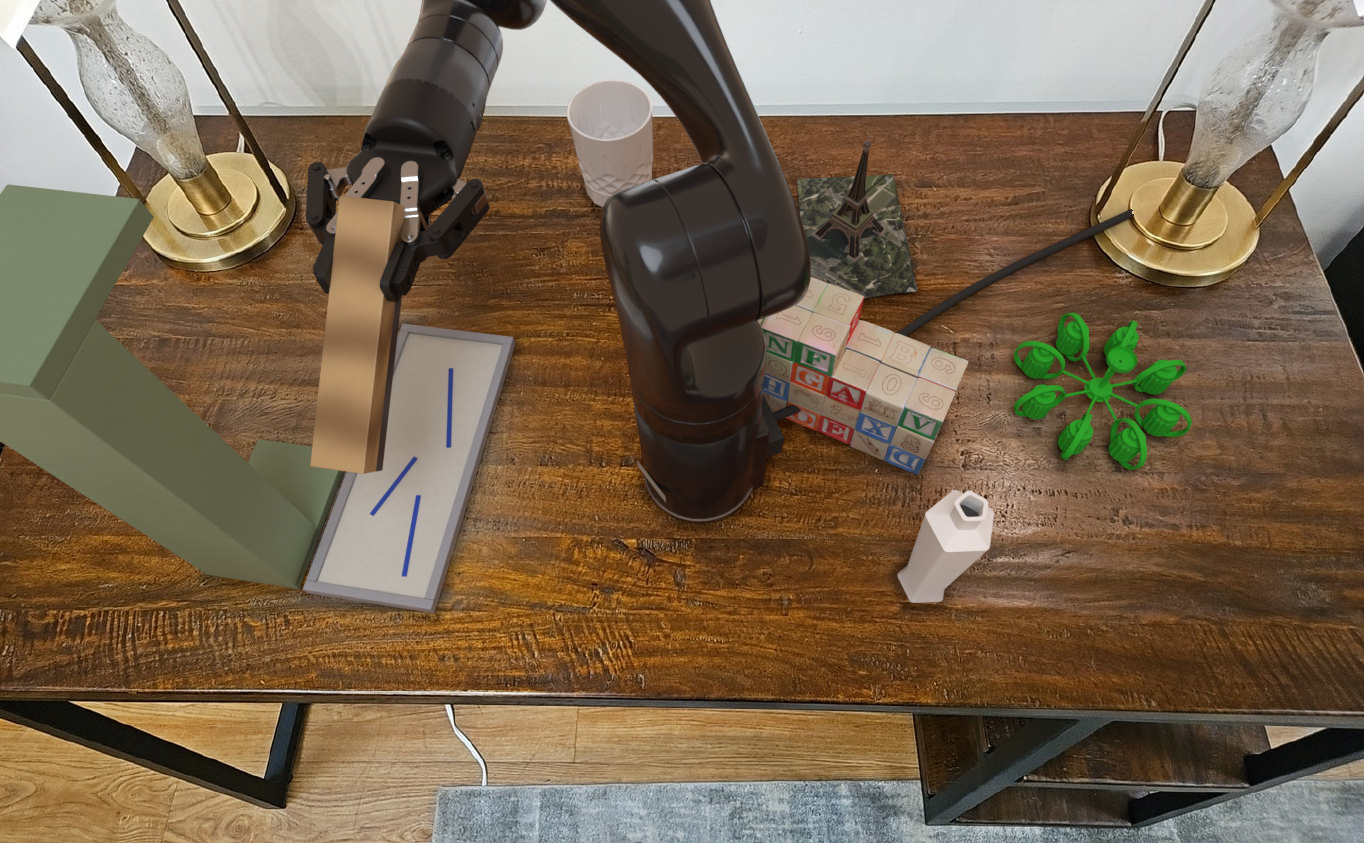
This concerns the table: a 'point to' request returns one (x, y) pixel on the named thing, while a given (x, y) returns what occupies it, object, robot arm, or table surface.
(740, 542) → the table surface
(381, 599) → the whiteboard
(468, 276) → the table surface
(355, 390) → the eraser
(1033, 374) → the chandelier
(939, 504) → the white faceted vase
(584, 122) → the white cup
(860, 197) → the eiffel tower figurine
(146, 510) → the green bent block
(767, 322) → the stack of blocks
